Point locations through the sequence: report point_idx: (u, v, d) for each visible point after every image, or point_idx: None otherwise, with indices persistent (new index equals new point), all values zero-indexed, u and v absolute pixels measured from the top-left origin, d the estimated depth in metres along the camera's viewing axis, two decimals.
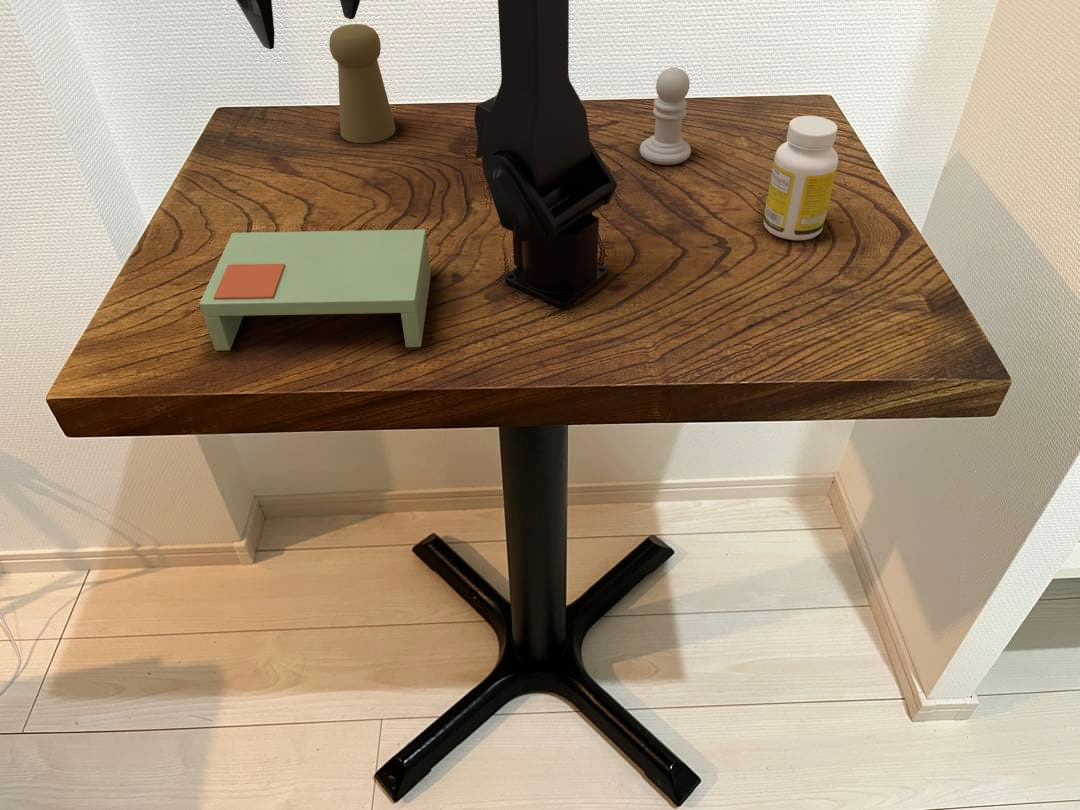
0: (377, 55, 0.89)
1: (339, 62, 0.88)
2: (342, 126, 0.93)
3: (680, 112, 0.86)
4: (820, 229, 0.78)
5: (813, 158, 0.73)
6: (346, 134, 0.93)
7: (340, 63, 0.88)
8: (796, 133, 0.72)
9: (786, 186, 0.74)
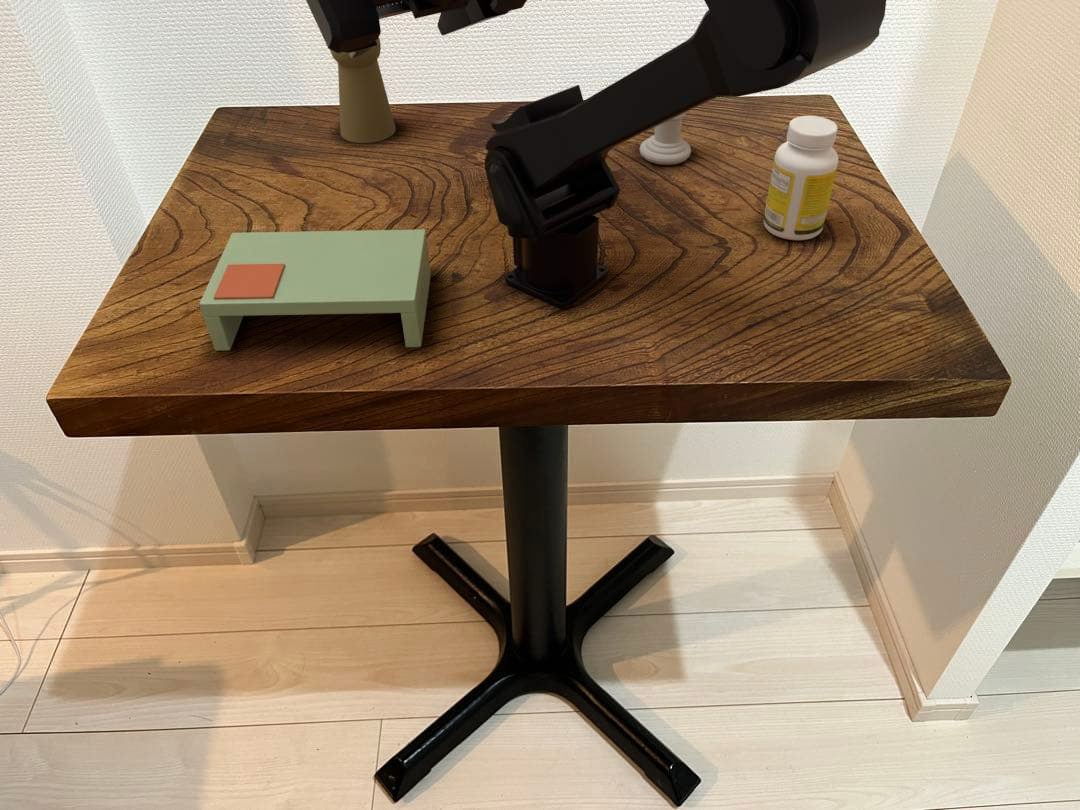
0: (377, 55, 0.89)
1: (339, 62, 0.88)
2: (342, 126, 0.93)
3: None
4: (820, 229, 0.78)
5: (813, 158, 0.73)
6: (346, 134, 0.93)
7: (340, 63, 0.88)
8: (796, 133, 0.72)
9: (786, 186, 0.74)
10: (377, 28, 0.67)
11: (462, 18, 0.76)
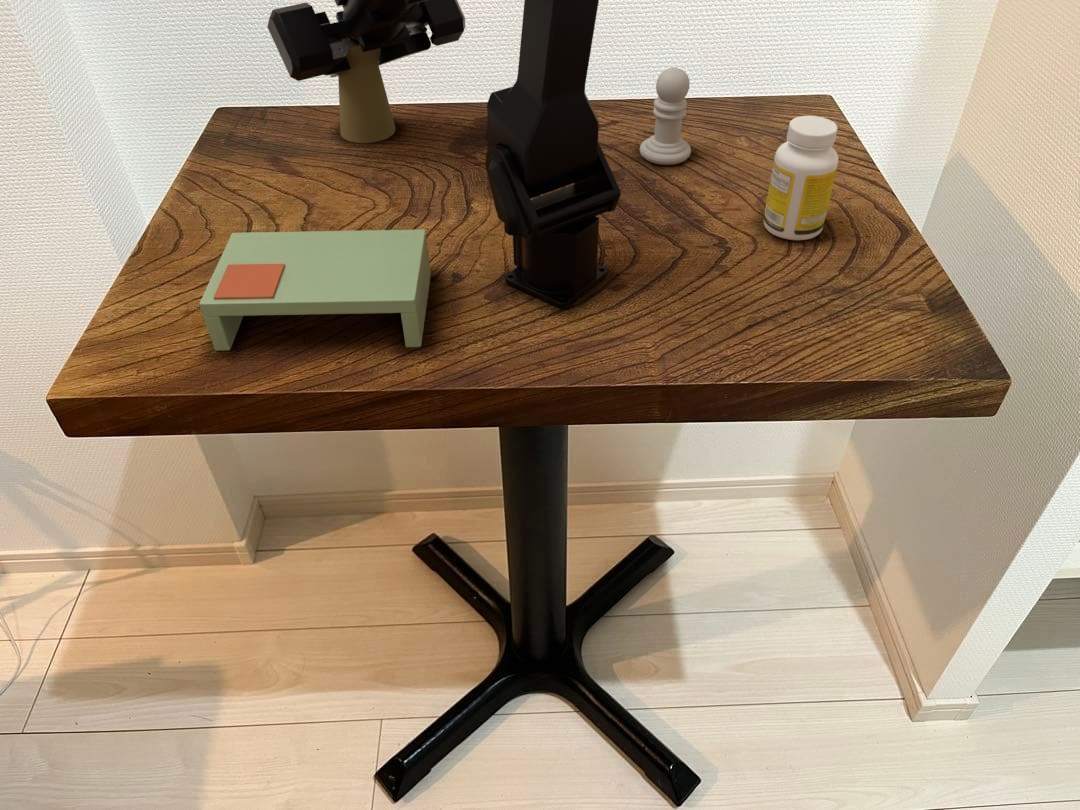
0: (377, 55, 0.89)
1: None
2: (342, 126, 0.93)
3: (680, 112, 0.86)
4: (820, 229, 0.78)
5: (813, 158, 0.73)
6: (346, 134, 0.93)
7: None
8: (796, 133, 0.72)
9: (786, 186, 0.74)
10: (331, 60, 0.81)
11: (391, 53, 0.89)
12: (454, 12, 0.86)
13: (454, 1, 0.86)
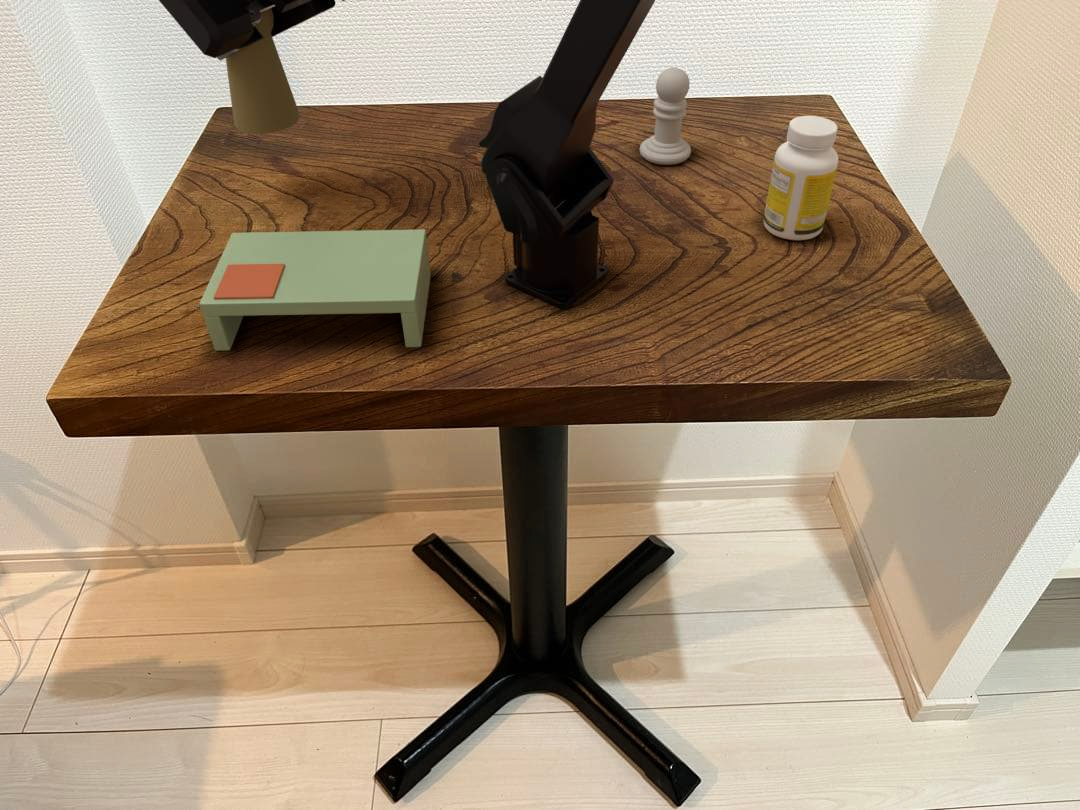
0: (272, 24, 0.75)
1: None
2: (241, 118, 0.78)
3: (680, 112, 0.86)
4: (820, 229, 0.78)
5: (813, 158, 0.73)
6: (248, 126, 0.78)
7: None
8: (796, 133, 0.72)
9: (786, 186, 0.74)
10: (250, 27, 0.66)
11: (287, 19, 0.75)
12: None
13: None
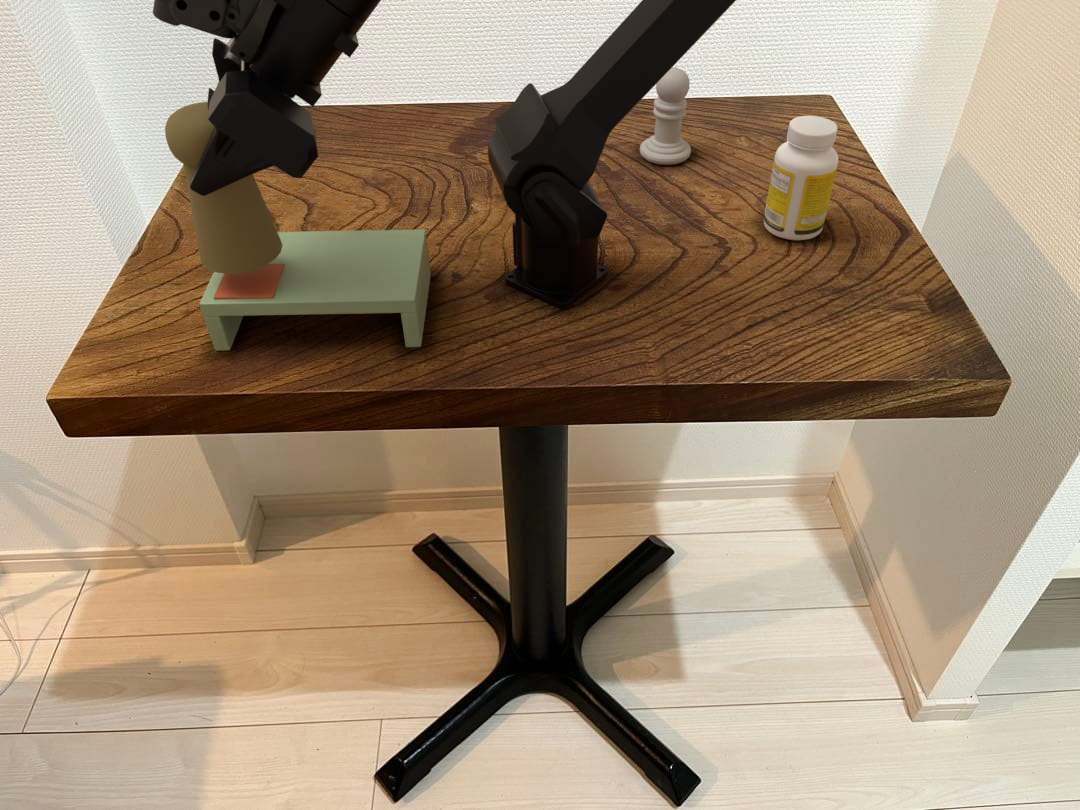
0: None
1: None
2: (235, 257, 0.62)
3: (680, 112, 0.86)
4: (820, 229, 0.78)
5: (813, 158, 0.73)
6: (248, 263, 0.62)
7: None
8: (796, 133, 0.72)
9: (786, 186, 0.74)
10: (314, 129, 0.54)
11: None
12: None
13: None
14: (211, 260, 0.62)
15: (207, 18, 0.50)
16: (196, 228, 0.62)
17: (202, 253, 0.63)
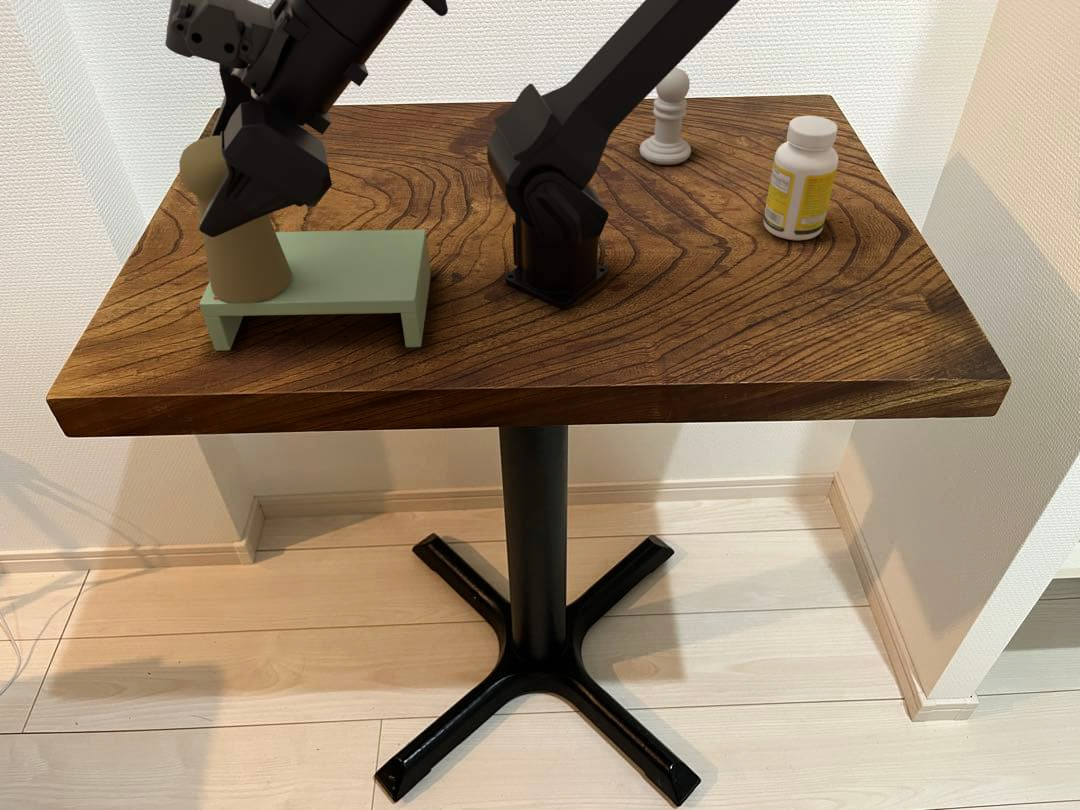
0: None
1: None
2: (247, 287, 0.63)
3: (680, 112, 0.86)
4: (820, 229, 0.78)
5: (813, 158, 0.73)
6: (260, 292, 0.63)
7: None
8: (796, 133, 0.72)
9: (786, 186, 0.74)
10: None
11: None
12: None
13: None
14: (223, 290, 0.63)
15: (222, 50, 0.50)
16: (208, 259, 0.62)
17: (214, 283, 0.63)
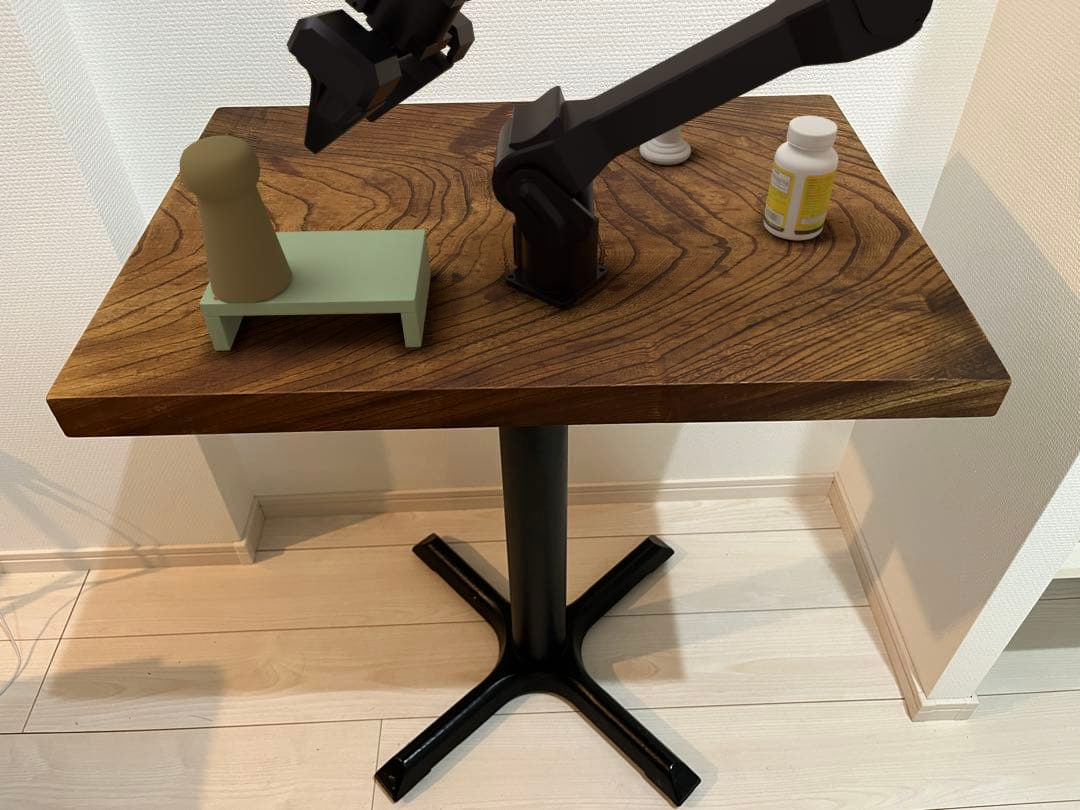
0: None
1: (233, 196, 0.58)
2: (247, 287, 0.63)
3: None
4: (820, 229, 0.78)
5: (813, 158, 0.73)
6: (260, 292, 0.63)
7: (234, 197, 0.59)
8: (796, 133, 0.72)
9: (786, 186, 0.74)
10: (398, 71, 0.55)
11: (405, 86, 0.67)
12: (461, 17, 0.66)
13: None
14: (223, 290, 0.63)
15: None
16: (208, 259, 0.62)
17: (214, 283, 0.63)
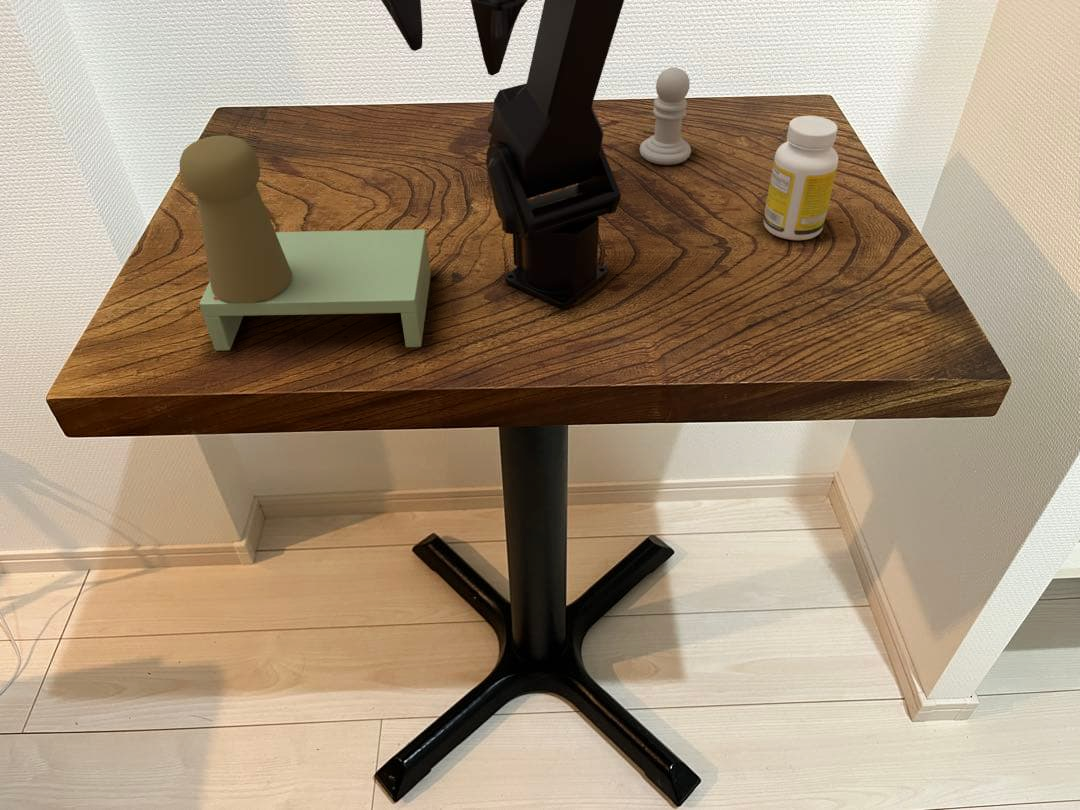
0: None
1: (233, 196, 0.58)
2: (247, 287, 0.63)
3: (680, 112, 0.86)
4: (820, 229, 0.78)
5: (813, 158, 0.73)
6: (260, 292, 0.63)
7: (234, 197, 0.59)
8: (796, 133, 0.72)
9: (786, 186, 0.74)
10: None
11: None
12: None
13: None
14: (223, 290, 0.63)
15: None
16: (208, 259, 0.62)
17: (214, 283, 0.63)
